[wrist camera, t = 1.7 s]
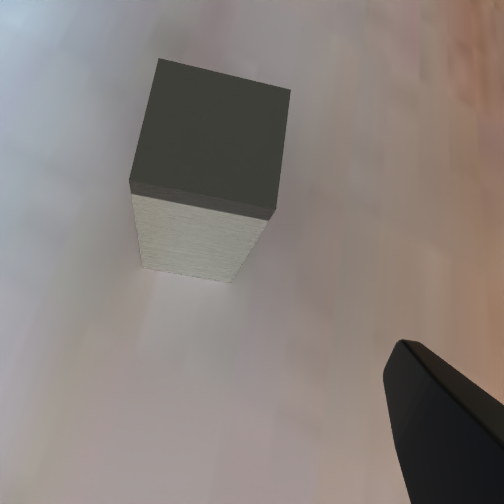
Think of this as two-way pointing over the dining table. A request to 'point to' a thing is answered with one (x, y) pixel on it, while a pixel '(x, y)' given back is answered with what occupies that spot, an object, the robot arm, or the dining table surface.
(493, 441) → the robot arm
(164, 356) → the dining table surface
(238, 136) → the grey tall block
